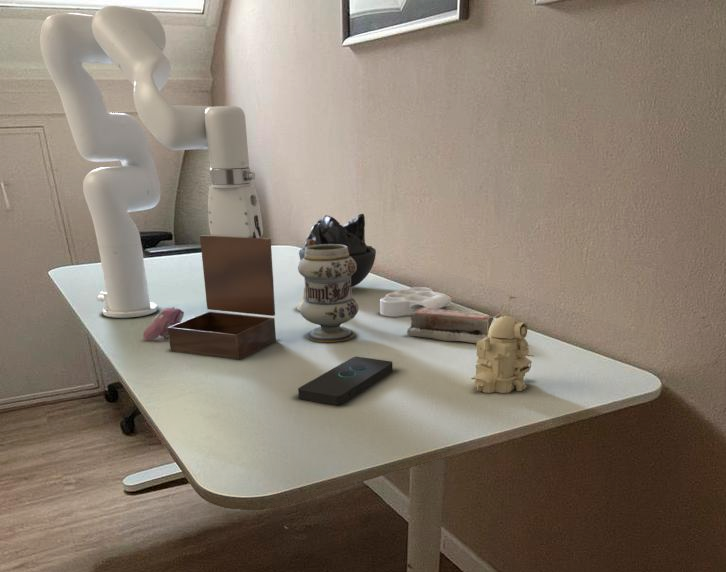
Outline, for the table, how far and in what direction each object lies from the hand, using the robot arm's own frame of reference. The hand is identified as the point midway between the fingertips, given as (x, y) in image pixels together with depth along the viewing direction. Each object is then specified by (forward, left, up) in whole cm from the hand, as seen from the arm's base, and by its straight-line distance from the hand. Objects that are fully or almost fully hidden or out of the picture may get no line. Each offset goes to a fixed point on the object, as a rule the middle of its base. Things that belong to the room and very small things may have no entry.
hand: (239, 275), depth 146 cm
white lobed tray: (+26, +33, -12) cm, 44 cm away
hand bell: (+4, +25, -12) cm, 28 cm away
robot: (+59, -13, -12) cm, 62 cm away
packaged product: (+42, +15, -12) cm, 46 cm away
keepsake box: (+1, -9, -12) cm, 15 cm away
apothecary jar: (+18, +5, -12) cm, 22 cm away
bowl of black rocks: (0, +47, -12) cm, 48 cm away
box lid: (+1, -2, 0) cm, 3 cm away
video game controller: (-15, -7, -12) cm, 21 cm away
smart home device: (+34, -21, -12) cm, 42 cm away
